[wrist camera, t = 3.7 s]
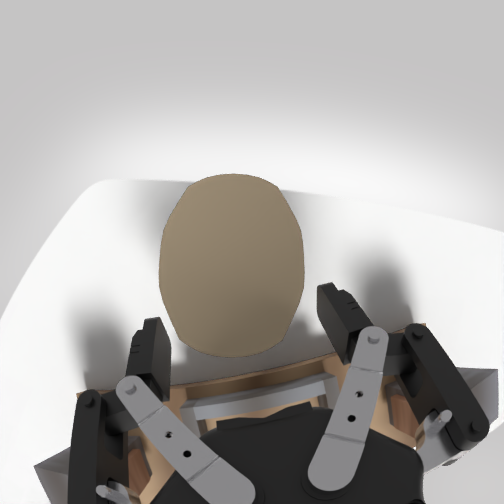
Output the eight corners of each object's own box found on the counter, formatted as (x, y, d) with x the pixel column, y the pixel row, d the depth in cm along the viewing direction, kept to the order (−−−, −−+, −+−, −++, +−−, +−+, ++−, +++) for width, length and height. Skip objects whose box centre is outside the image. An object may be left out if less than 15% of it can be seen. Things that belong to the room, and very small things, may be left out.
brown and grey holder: (414, 324, 23) (494, 311, 13) (427, 429, 20) (498, 454, 10) (86, 390, 21) (10, 410, 10) (121, 494, 17) (74, 547, 7)
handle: (209, 341, 23) (155, 354, 8) (210, 267, 24) (169, 175, 10) (267, 341, 23) (306, 355, 8) (266, 267, 25) (297, 174, 10)
